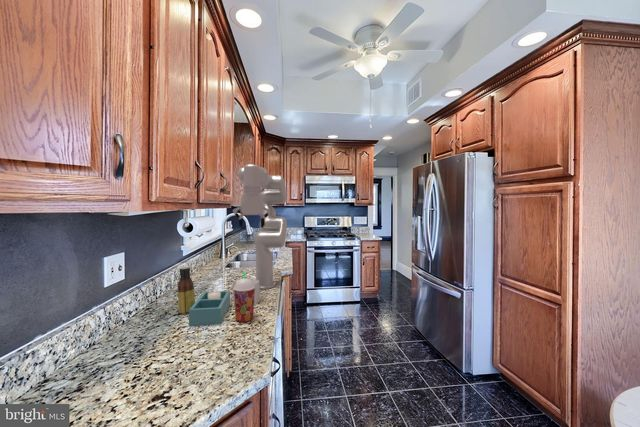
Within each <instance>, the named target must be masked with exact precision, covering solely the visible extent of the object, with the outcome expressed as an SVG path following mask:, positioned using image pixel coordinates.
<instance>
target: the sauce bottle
mask: <svg viewBox="0 0 640 427" xmlns="http://www.w3.org/2000/svg"><path fill="white" fill-rule="evenodd" d="M179 276H180V277H179V281H178V283H177V298H178V299H177V300H178V302H177V303H178V313H179V314H180V315H189V309H190V308H191V307H192V306H193V304H194V303H195V302H196V299H195V298H196V297H195V285H194V281H193V279H192V277H191V267H190V266H182V267H180V268H179Z"/></svg>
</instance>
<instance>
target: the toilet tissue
mask: <svg viewBox="0 0 640 427" xmlns="http://www.w3.org/2000/svg"><path fill="white" fill-rule="evenodd" d="M249 279H250V278H249ZM250 280H251V281H252V282H253V284H254V286H255V296H254V305H257V304H258V303H259V302H260V289H259V281H258V280H256V279H253V278H251V279H250ZM235 284H236V283H235V282H234V281H232V288H233V287H234V286H235ZM232 302H234V290H233V289H232Z"/></svg>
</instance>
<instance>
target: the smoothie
mask: <svg viewBox="0 0 640 427" xmlns="http://www.w3.org/2000/svg"><path fill="white" fill-rule="evenodd" d="M242 276H243V277H242V278H240V279H238V280H237V281H236V283H235V286H234V287H233V286H232V291H233V290H234V301H233V303H234V316H235V320H236V321H237V322H239V323H246V322H250V321H252V320H253V318H254V308H255V304H254V296H255V286H254V284H253V282H252V281H251V280H250V278H247V277H246V271H244V270H243V273H242Z"/></svg>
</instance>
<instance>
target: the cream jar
mask: <svg viewBox="0 0 640 427" xmlns="http://www.w3.org/2000/svg"><path fill="white" fill-rule="evenodd" d="M219 291H220V290H217V291H216V290H214V291H209V292H210V293H208V299H221V292H219Z"/></svg>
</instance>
